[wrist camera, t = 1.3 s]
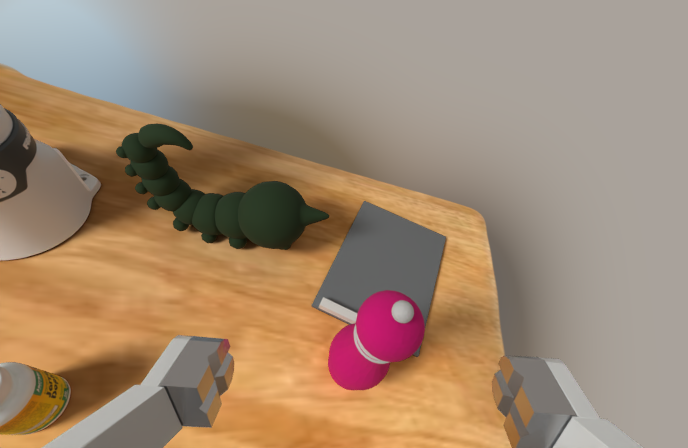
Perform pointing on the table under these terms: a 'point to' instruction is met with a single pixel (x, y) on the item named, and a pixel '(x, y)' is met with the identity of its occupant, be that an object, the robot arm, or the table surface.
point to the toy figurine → (215, 197)
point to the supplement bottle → (30, 398)
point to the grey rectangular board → (383, 262)
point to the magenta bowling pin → (376, 340)
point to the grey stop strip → (338, 310)
